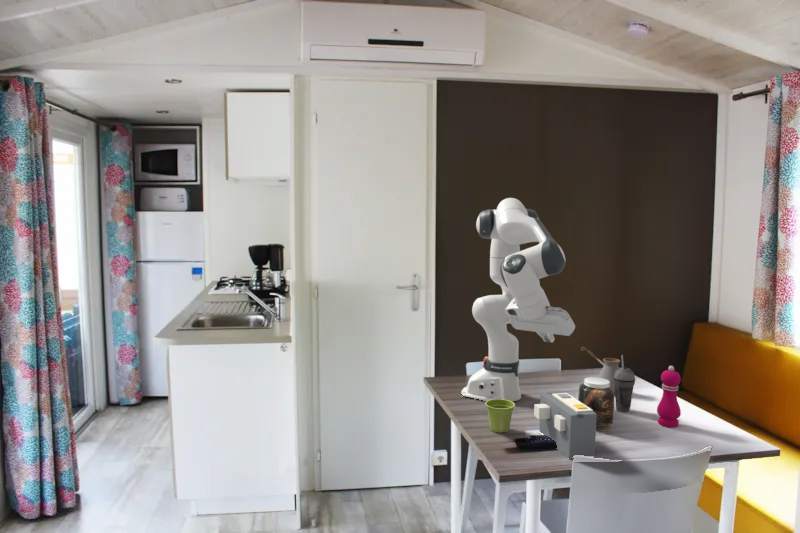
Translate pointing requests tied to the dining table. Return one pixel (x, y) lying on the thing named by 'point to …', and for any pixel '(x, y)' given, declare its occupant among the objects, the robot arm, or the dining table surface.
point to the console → (570, 424)
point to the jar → (598, 400)
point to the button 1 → (542, 411)
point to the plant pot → (499, 414)
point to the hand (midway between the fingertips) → (549, 340)
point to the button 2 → (560, 422)
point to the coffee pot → (607, 367)
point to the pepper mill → (669, 399)
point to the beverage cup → (624, 388)
